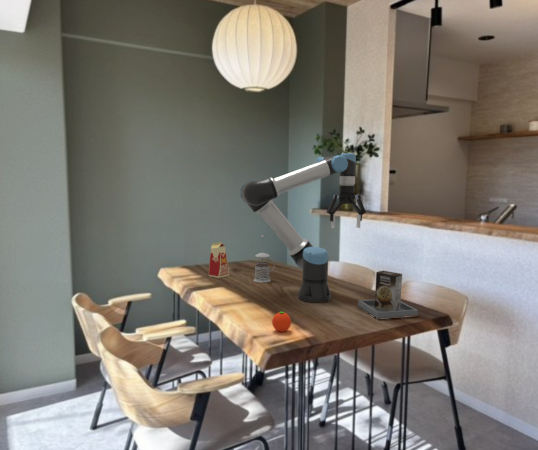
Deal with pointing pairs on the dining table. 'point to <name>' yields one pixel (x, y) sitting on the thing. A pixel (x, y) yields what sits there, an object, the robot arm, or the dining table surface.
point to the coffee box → (388, 291)
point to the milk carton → (218, 261)
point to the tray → (370, 308)
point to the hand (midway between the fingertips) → (345, 227)
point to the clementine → (281, 321)
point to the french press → (260, 266)
